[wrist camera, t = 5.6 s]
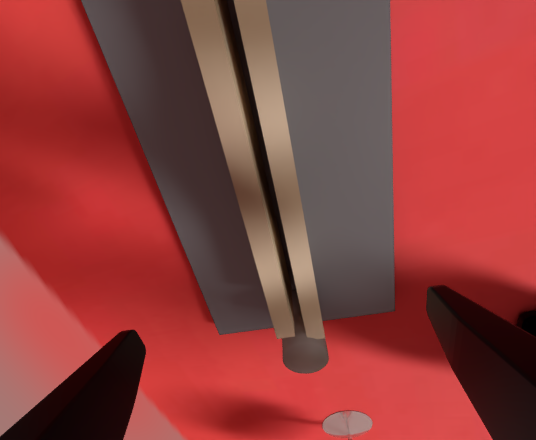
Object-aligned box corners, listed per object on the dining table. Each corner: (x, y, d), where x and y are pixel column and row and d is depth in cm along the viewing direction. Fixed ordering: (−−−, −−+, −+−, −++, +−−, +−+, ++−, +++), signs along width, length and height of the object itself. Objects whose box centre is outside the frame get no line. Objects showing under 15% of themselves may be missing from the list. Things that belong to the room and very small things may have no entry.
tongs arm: (291, 287, 19) (295, 336, 16) (276, 289, 19) (277, 338, 16) (217, -40, 12) (192, -88, 8) (193, -34, 12) (158, -77, 8)
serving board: (389, 301, 21) (394, 311, 21) (221, 324, 23) (219, 334, 22) (379, -109, 12) (388, -124, 11) (83, -21, 13) (70, -27, 12)
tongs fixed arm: (320, 314, 21) (331, 370, 17) (284, 319, 21) (287, 375, 17) (256, -49, 12) (247, -107, 8) (195, -31, 12) (157, -79, 8)
